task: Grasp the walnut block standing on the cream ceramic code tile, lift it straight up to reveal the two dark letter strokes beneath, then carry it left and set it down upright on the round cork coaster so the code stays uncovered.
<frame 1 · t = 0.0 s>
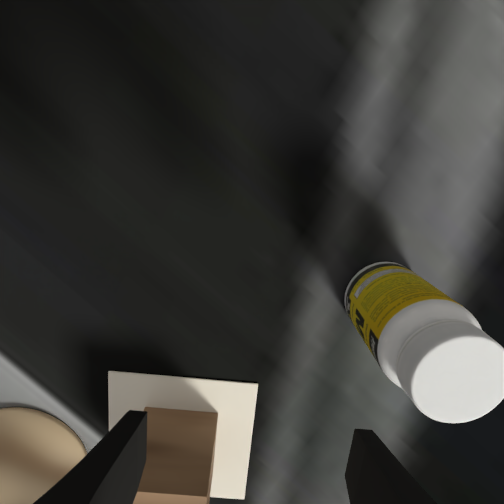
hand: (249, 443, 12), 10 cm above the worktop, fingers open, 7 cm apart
cork coaster: (26, 459, 24), on the worktop
supplement bottle: (379, 295, 21), on the worktop
code tile: (180, 438, 24), on the worktop
walnut block: (180, 439, 24), resting on code tile
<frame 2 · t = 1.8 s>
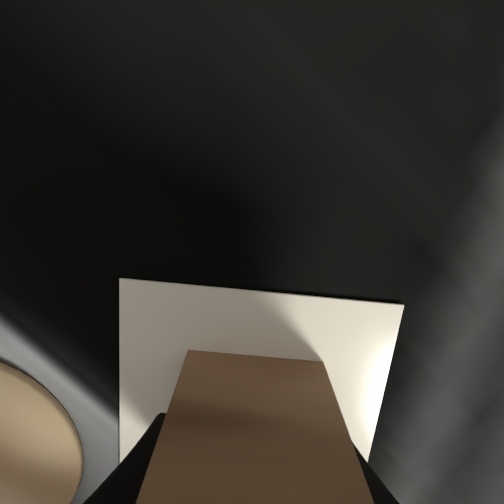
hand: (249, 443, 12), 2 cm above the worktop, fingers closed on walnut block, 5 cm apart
code tile: (249, 410, 13), on the worktop
walnut block: (249, 412, 13), resting on code tile, touching gripper
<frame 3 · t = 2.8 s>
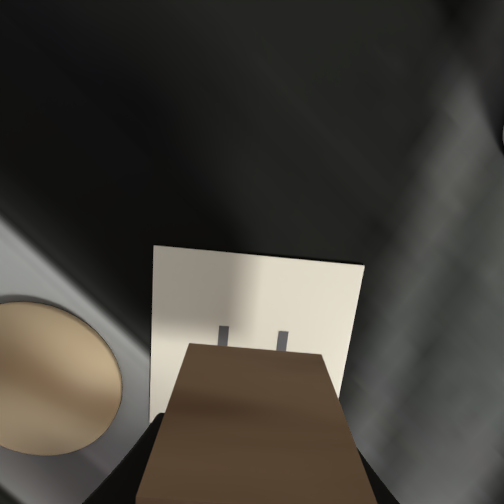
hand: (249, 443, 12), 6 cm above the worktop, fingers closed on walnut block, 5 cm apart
cork coaster: (36, 380, 18), on the worktop
code tile: (249, 348, 17), on the worktop
walnut block: (249, 405, 13), point 4 cm above the worktop, touching gripper
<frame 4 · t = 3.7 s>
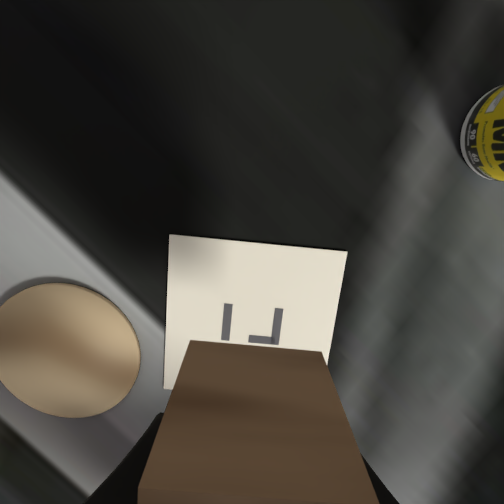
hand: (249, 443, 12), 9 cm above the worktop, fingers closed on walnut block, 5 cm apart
cork coaster: (67, 351, 21), on the worktop
supplement bottle: (500, 134, 18), on the worktop
code tile: (250, 323, 20), on the worktop
walnut block: (249, 402, 13), point 7 cm above the worktop, touching gripper
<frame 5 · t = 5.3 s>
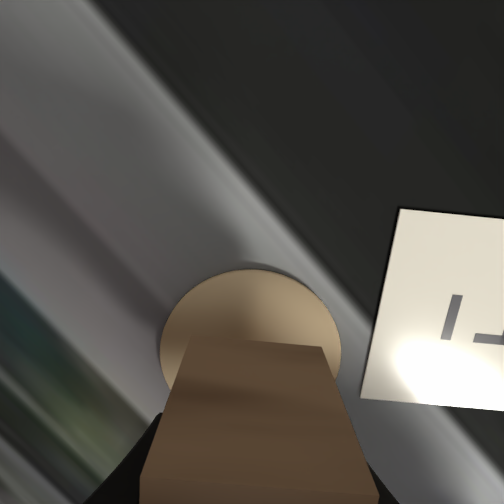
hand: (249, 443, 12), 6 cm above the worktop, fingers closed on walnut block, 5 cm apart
cork coaster: (250, 353, 17), on the worktop
code tile: (478, 319, 17), on the worktop
walnut block: (250, 397, 13), point 4 cm above the worktop, touching gripper
when the fingers open (3 cm above the worktop, at t = 6.3 s): walnut block stays where it is, resting on cork coaster.
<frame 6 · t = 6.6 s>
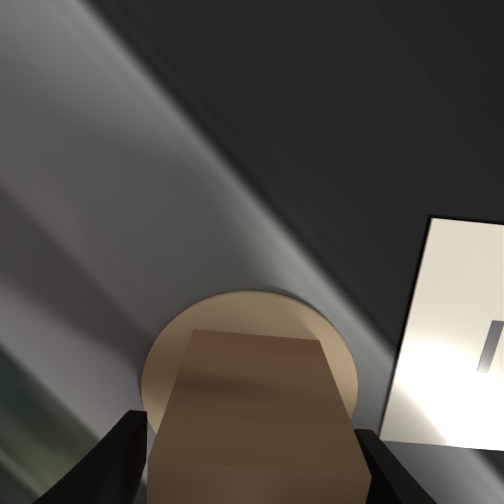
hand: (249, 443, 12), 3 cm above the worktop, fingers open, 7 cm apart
cork coaster: (249, 388, 14), on the worktop
walnut block: (250, 388, 14), resting on cork coaster
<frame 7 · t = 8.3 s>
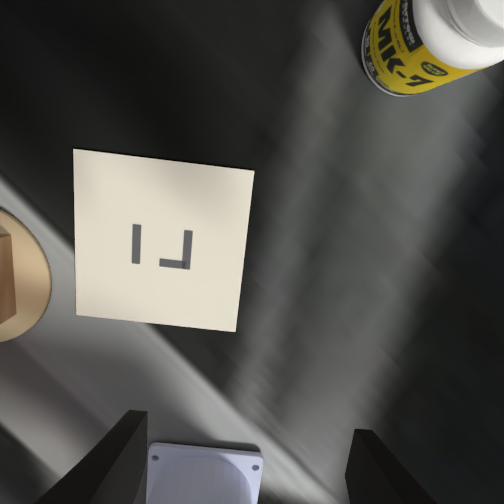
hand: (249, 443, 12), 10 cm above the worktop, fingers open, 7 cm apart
supplement bottle: (403, 49, 17), on the worktop
code tile: (160, 246, 20), on the worktop
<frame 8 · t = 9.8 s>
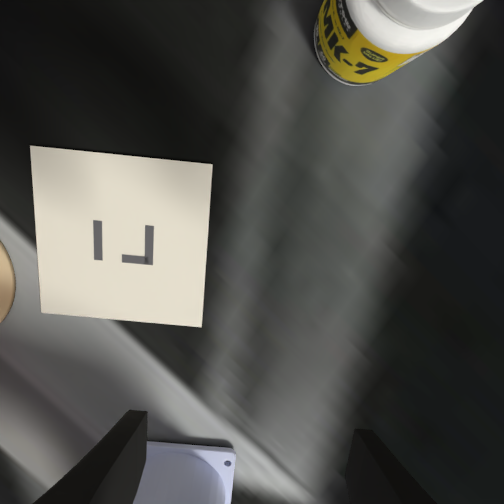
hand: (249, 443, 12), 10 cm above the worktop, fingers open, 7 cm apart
supplement bottle: (357, 38, 17), on the worktop
code tile: (122, 242, 20), on the worktop
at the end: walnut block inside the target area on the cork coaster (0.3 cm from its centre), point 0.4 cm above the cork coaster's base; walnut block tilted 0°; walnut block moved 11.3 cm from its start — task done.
